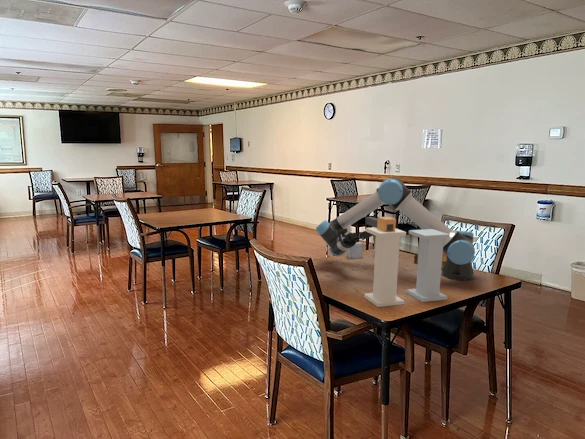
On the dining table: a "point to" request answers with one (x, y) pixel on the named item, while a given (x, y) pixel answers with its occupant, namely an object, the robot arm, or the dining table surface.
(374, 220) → the orange and black bar
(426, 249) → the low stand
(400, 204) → the robot arm
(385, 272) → the stand
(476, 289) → the dining table surface
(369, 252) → the dining table surface
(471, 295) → the dining table surface
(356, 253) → the medicine box
